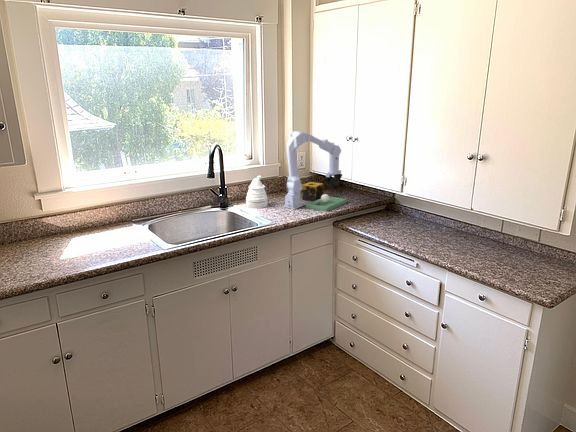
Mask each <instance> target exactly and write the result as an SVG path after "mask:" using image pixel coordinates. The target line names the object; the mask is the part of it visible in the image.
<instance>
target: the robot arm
mask: <svg viewBox="0 0 576 432" xmlns="http://www.w3.org/2000/svg"><path fill="white" fill-rule="evenodd" d="M306 142H307V143H308V142H310V143H312V144H315V145H317V146H318V147H319V149H321V150H323V151H325V152H327V153H328V154H329V165H328V167H329V168H328V172H327V173H325V175H324V178H325V180H326V183H327V188H328V189H333V184H334V186H336V187H338V186H339V185H340V182H341V178H342V177H343V173H342V170H341V169H340V168H339V167H340V155H341V153H342V149H341V147H340V145H337V144H335V142H330V141H329V139H319V138H318V137H316V136H314V135H312V134H310V133H306V132H301V131H299V130H294V131H292V132H291V133H290V134H289V138H288V142H287V144H286V154H287V155H286V156H287V163H288V164H287V165H288V166H287V167H288V177H287V182H286V188H287V189H288V192H287V194H286V195H285V196H284V206H283V208H286V209H291V210H296V209H299V208H301V207H304V204H301V200H302V199H301V197H302V195H301V193H302V192H301V191H302V185H303V184H302V182H301V178H300V176H299V167H298V155H297V149H298V148H299V147H301V146H302V145H303V144H305V143H306Z"/></svg>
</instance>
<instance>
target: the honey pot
mask: <svg viewBox="0 0 576 432" xmlns="http://www.w3.org/2000/svg"><path fill="white" fill-rule="evenodd" d="M262 177H263V176H262V175H257V176H256V177H255V178H254V179H252V181H251V183H250V185H249V186H248V191H247V193H246V197H245V203H246V207H247V208H250V209H262V208H263V209H264V208H266V207H268V195H267V192H266V189H265V188H266V185H264V184H263V183H262V182H261V179H262Z"/></svg>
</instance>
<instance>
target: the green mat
mask: <svg viewBox="0 0 576 432" xmlns="http://www.w3.org/2000/svg"><path fill="white" fill-rule="evenodd" d="M328 196H329V201H328V202H322V200H321V199H318V200H316V201H310V202H309V203H306V204H305V208H306V209H312V210H317V211H321V212H329V211H330V210H333V209H336V208H337V207H340V206H342V205H344V204H346V203H348V199H347V198H343V197H342V198H341V197H336V196H330V195H328Z"/></svg>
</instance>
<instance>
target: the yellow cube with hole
mask: <svg viewBox="0 0 576 432" xmlns="http://www.w3.org/2000/svg"><path fill="white" fill-rule="evenodd" d="M301 191H302V195H301V197H302V199H301V200H302V201H308V202H313V201H316V200H318V199H321V196H322V195H323V194H324V183H322V182H313V181H308V182H306V183H303V184H302V190H301Z"/></svg>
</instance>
